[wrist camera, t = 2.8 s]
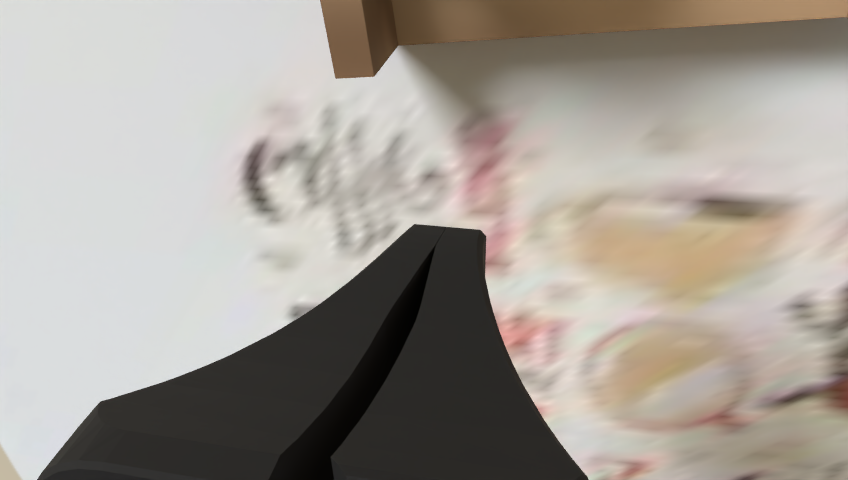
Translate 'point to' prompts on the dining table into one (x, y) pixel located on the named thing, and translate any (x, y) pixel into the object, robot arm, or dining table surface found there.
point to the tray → (528, 21)
